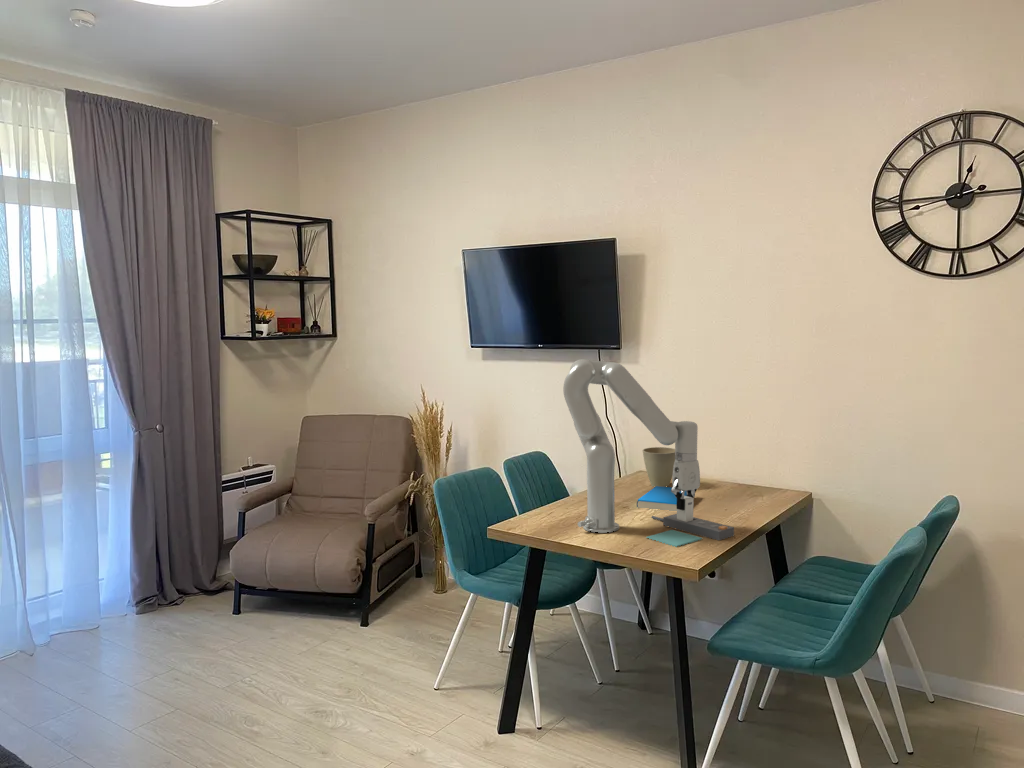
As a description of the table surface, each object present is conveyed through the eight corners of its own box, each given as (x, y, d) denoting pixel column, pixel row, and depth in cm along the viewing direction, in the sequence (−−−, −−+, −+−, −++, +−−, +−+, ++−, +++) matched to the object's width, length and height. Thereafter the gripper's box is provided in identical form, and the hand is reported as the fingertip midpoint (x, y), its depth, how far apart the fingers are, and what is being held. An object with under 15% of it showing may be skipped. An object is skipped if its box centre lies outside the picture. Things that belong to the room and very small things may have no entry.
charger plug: (686, 522, 261) (686, 499, 261) (676, 519, 265) (677, 497, 264) (693, 520, 264) (694, 497, 263) (684, 517, 267) (684, 495, 266)
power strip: (734, 535, 253) (734, 525, 253) (719, 540, 249) (719, 529, 248) (659, 516, 280) (659, 507, 279) (644, 520, 275) (644, 510, 274)
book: (695, 489, 306) (680, 502, 284) (695, 499, 307) (680, 513, 285) (654, 485, 314) (636, 498, 292) (654, 496, 314) (636, 509, 292)
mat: (676, 547, 242) (676, 545, 242) (646, 538, 253) (646, 536, 253) (702, 539, 250) (702, 537, 250) (671, 531, 261) (671, 529, 261)
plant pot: (640, 482, 336) (639, 447, 335) (673, 482, 336) (673, 446, 335) (645, 490, 321) (645, 453, 320) (680, 489, 321) (680, 452, 320)
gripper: (678, 461, 254) (677, 514, 256) (709, 455, 264) (708, 506, 266) (661, 458, 260) (660, 510, 262) (692, 452, 270) (691, 502, 272)
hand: (685, 507), depth 264 cm, fingers closed on charger plug, 4 cm apart
